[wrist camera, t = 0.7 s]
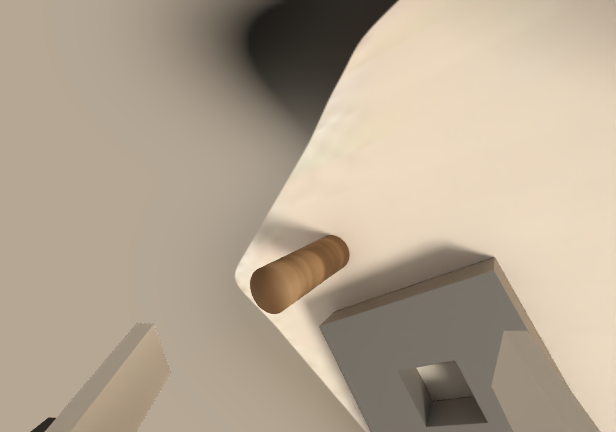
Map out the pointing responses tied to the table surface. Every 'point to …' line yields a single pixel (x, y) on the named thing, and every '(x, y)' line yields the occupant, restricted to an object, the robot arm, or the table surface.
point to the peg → (297, 273)
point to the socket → (429, 349)
